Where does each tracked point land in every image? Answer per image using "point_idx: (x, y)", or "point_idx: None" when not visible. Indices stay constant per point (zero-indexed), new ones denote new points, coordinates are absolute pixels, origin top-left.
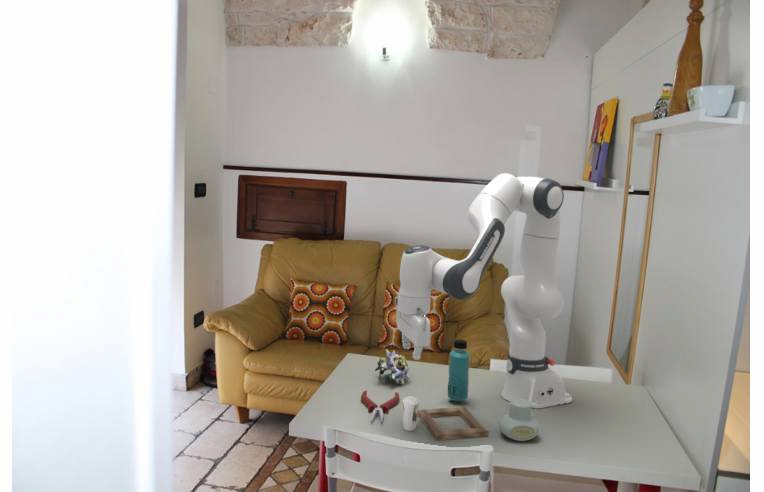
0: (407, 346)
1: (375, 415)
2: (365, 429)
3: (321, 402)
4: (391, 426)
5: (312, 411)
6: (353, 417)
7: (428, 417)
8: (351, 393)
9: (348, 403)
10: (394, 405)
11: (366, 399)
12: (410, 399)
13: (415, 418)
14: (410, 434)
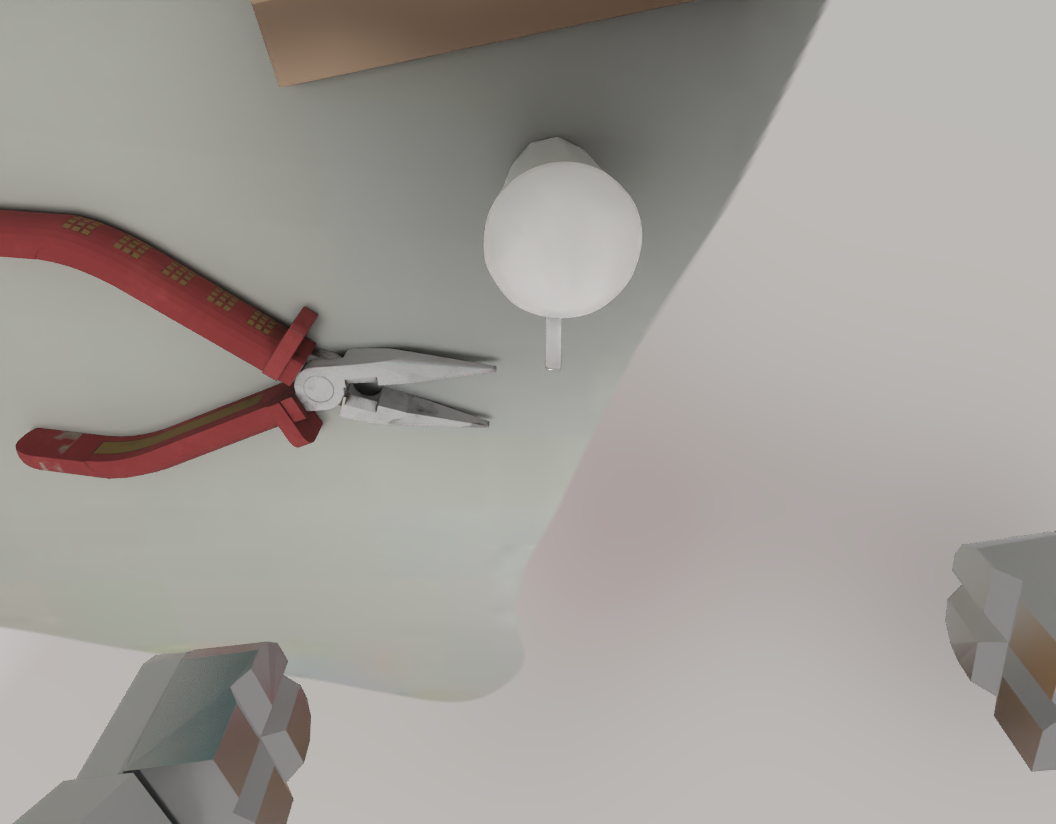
0: (269, 719)
1: (394, 400)
2: (562, 449)
3: (225, 638)
4: None
5: (351, 666)
6: (401, 502)
7: (428, 3)
8: (32, 508)
9: (201, 524)
10: (169, 258)
11: (187, 457)
12: (596, 262)
13: (595, 162)
14: (646, 184)
